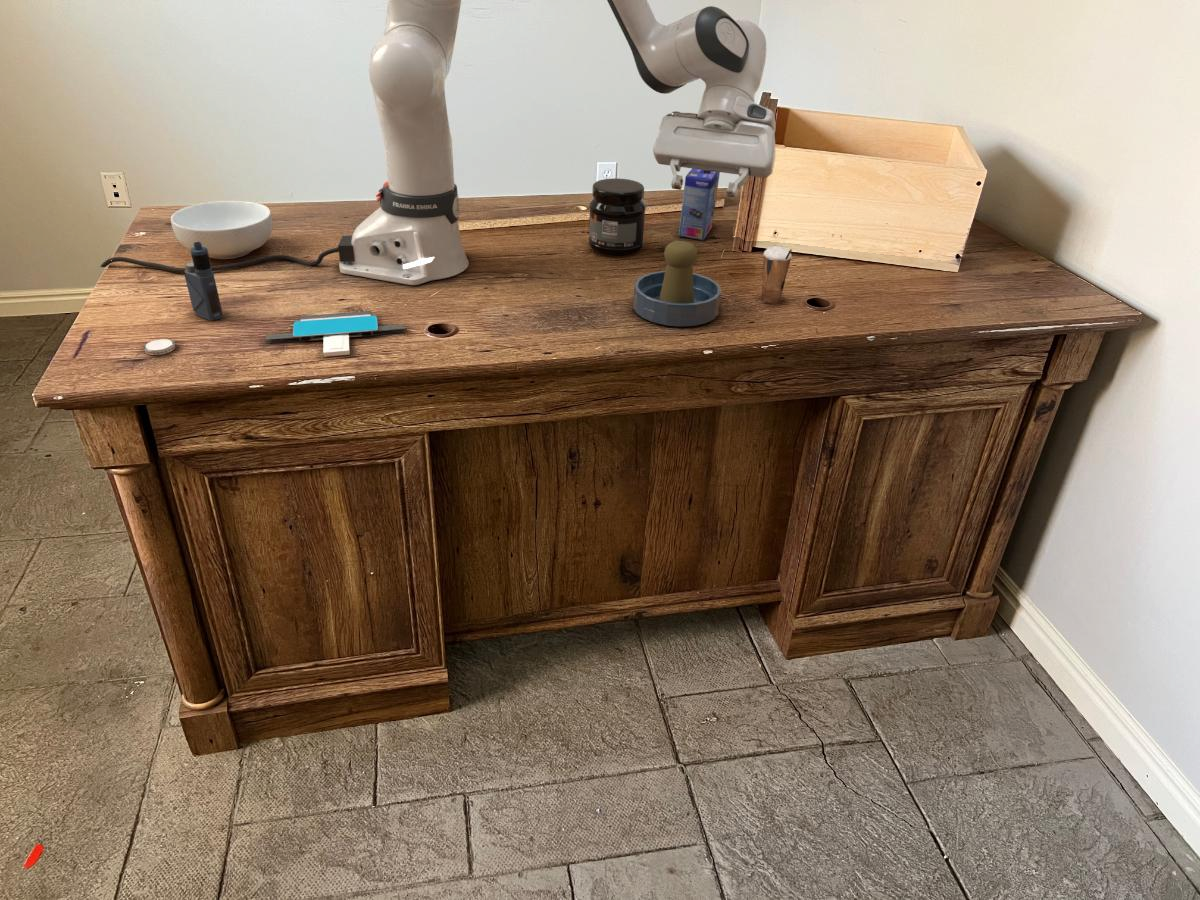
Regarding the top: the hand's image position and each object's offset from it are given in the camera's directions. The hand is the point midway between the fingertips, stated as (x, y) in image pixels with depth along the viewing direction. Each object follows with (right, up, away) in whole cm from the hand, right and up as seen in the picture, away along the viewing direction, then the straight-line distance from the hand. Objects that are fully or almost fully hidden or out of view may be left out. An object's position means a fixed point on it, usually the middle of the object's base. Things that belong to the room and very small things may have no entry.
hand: (703, 191), depth 141 cm
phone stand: (-57, -26, -13) cm, 64 cm away
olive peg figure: (-5, -19, 0) cm, 20 cm away
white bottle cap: (-81, -28, -18) cm, 87 cm away
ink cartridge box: (+2, +1, +32) cm, 32 cm away
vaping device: (-78, -22, -8) cm, 81 cm away
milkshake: (+12, -17, +4) cm, 22 cm away
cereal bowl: (-85, -7, +15) cm, 86 cm away
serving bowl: (-5, -20, 0) cm, 20 cm away
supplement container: (-14, -4, +23) cm, 27 cm away
